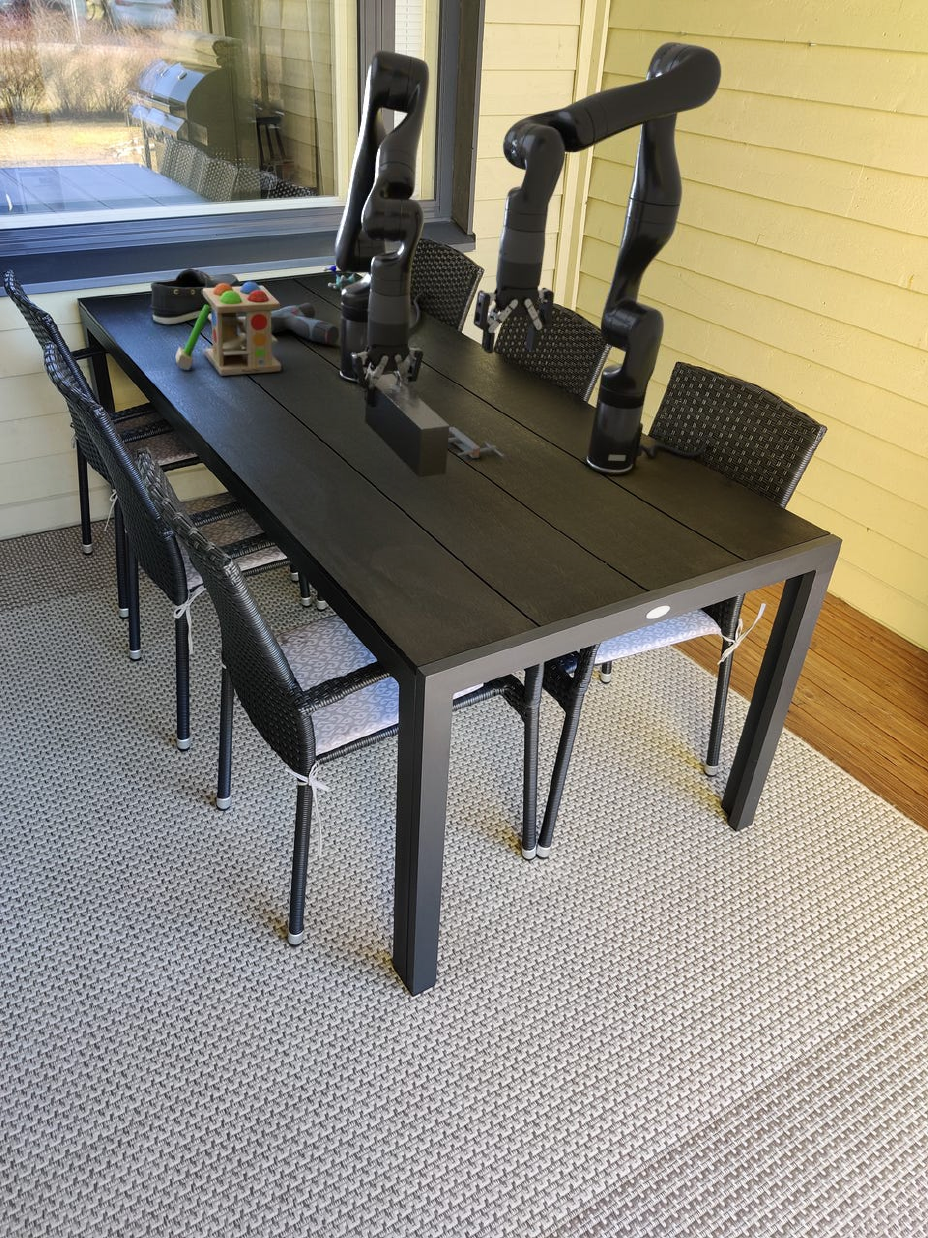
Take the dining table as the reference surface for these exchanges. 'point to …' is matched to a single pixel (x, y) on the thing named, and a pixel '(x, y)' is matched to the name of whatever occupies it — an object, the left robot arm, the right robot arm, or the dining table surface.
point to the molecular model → (339, 278)
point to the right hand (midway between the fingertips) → (509, 350)
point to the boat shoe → (184, 295)
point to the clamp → (469, 444)
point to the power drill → (304, 324)
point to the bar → (409, 427)
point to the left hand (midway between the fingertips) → (385, 403)
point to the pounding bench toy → (229, 347)
